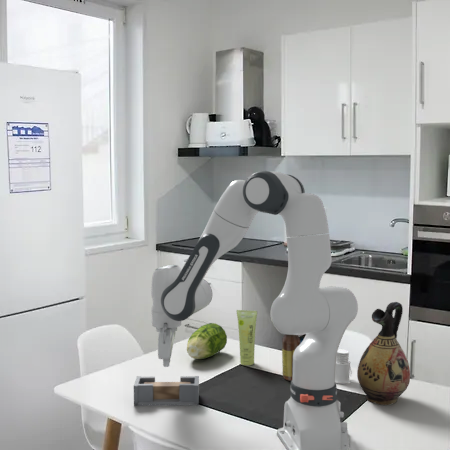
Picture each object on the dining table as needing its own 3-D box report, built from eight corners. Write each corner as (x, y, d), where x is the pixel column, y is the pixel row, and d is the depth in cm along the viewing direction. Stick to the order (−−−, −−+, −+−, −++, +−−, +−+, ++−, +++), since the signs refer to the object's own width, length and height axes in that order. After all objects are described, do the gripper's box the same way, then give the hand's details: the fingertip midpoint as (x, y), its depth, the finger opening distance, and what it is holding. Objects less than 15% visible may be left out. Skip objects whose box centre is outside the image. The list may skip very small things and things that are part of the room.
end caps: (198, 394, 189) (198, 376, 188) (198, 405, 181) (198, 385, 180) (137, 395, 189) (136, 376, 188) (133, 405, 181) (133, 385, 180)
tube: (243, 367, 215) (243, 312, 212) (236, 362, 219) (236, 309, 217) (256, 364, 217) (257, 310, 215) (249, 360, 222) (250, 307, 220)
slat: (190, 394, 187) (190, 381, 186) (190, 398, 183) (190, 386, 183) (144, 394, 186) (144, 382, 186) (143, 399, 183) (143, 386, 182)
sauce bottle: (301, 375, 206) (302, 317, 204) (301, 382, 200) (302, 322, 198) (281, 374, 207) (282, 317, 205) (281, 381, 201) (282, 322, 199)
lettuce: (177, 364, 218) (177, 333, 216) (202, 348, 237) (202, 319, 235) (207, 368, 213) (207, 336, 212) (229, 351, 232) (229, 322, 231)
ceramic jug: (388, 414, 175) (392, 311, 172) (346, 398, 187) (348, 301, 184) (422, 399, 186) (426, 302, 183) (380, 385, 198) (383, 294, 195)
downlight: (334, 385, 197) (336, 355, 197) (324, 378, 204) (325, 348, 203) (356, 383, 200) (358, 353, 199) (345, 376, 207) (347, 347, 206)
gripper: (175, 328, 172) (175, 376, 173) (178, 310, 192) (179, 353, 194) (152, 328, 172) (153, 376, 173) (158, 310, 192) (159, 353, 194)
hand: (166, 364), depth 184 cm, fingers closed
